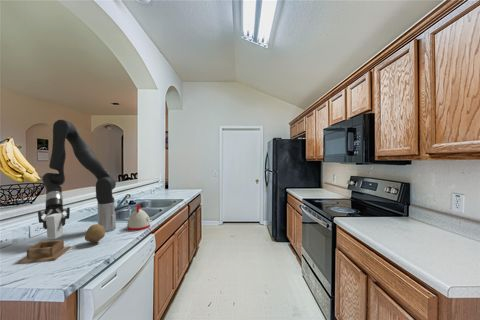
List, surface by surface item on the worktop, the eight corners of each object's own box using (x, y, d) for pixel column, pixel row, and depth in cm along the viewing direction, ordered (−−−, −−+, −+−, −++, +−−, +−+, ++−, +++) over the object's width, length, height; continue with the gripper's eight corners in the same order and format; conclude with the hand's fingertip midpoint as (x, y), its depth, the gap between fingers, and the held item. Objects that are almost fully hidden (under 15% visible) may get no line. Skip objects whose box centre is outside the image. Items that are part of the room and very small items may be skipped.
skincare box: (55, 235, 127) (53, 213, 127) (63, 234, 127) (62, 213, 127) (46, 239, 121) (45, 216, 121) (55, 239, 121) (54, 216, 121)
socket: (70, 248, 119) (70, 238, 119) (55, 260, 105) (54, 249, 105) (38, 250, 116) (38, 240, 116) (18, 263, 102) (18, 252, 102)
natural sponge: (109, 241, 128) (109, 223, 128) (94, 247, 120) (93, 227, 120) (97, 239, 132) (97, 221, 131) (82, 244, 123) (81, 225, 123)
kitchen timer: (124, 231, 145) (124, 207, 144) (129, 225, 158) (129, 203, 158) (148, 229, 148) (148, 206, 147) (151, 223, 161) (151, 202, 161)
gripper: (36, 198, 125) (35, 225, 116) (69, 195, 134) (71, 220, 125) (38, 207, 130) (37, 233, 121) (70, 203, 138) (71, 227, 129)
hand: (54, 226), depth 123 cm, fingers closed on skincare box, 6 cm apart
